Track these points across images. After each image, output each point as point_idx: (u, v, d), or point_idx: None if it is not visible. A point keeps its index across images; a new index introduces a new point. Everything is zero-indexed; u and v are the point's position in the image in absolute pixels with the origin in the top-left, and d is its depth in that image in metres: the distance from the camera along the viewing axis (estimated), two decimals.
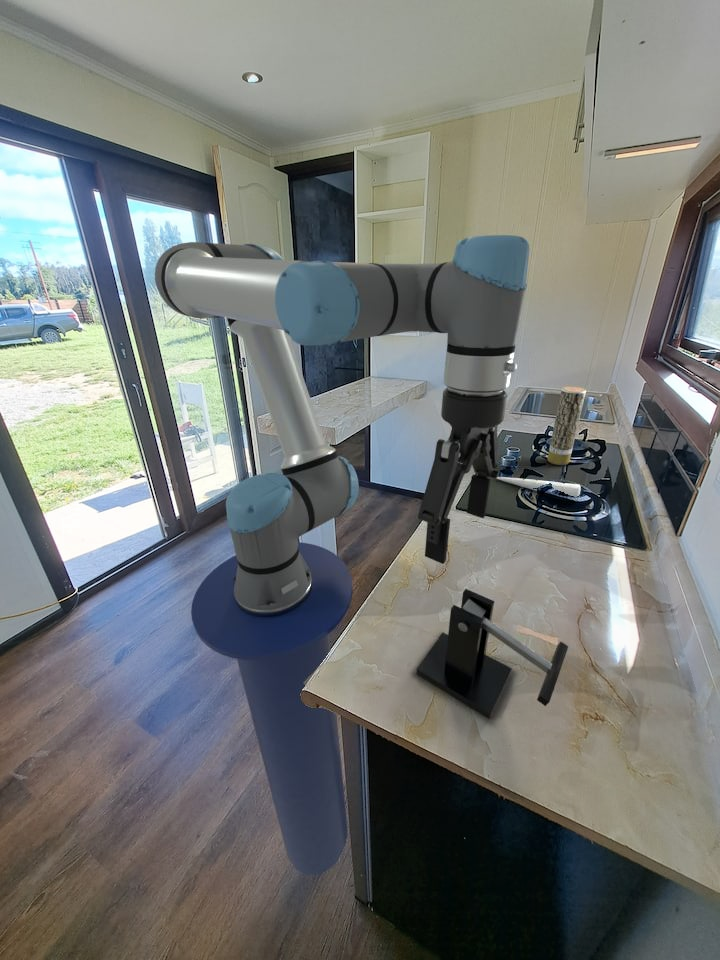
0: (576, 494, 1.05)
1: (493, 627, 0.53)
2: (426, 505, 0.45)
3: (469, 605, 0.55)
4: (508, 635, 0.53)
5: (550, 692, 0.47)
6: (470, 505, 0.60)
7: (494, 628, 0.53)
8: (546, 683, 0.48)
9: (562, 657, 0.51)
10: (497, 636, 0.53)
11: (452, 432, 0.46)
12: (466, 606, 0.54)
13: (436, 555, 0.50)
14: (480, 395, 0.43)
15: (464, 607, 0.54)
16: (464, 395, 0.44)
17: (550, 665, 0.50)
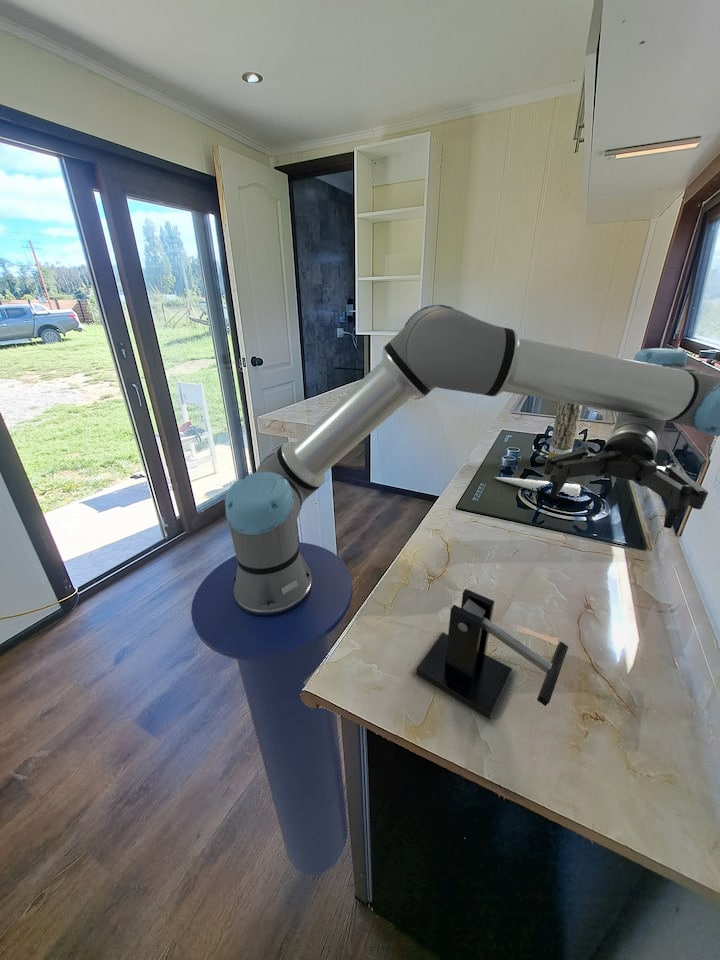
0: (576, 494, 1.05)
1: (493, 627, 0.53)
2: None
3: (469, 605, 0.55)
4: (508, 635, 0.53)
5: (550, 692, 0.47)
6: (560, 480, 0.56)
7: (494, 628, 0.53)
8: (546, 683, 0.48)
9: (562, 657, 0.51)
10: (497, 636, 0.53)
11: None
12: (466, 606, 0.54)
13: None
14: None
15: (464, 607, 0.54)
16: None
17: (550, 665, 0.50)
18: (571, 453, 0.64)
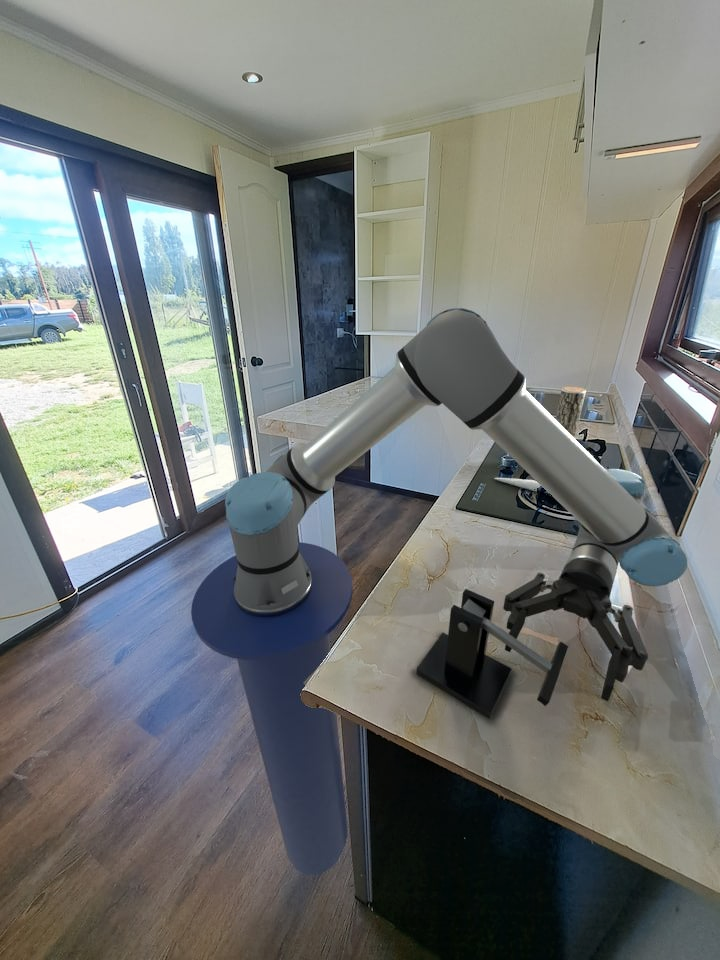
0: None
1: (493, 627, 0.53)
2: None
3: (469, 605, 0.55)
4: (508, 635, 0.53)
5: (550, 692, 0.47)
6: (515, 634, 0.54)
7: (494, 628, 0.53)
8: (546, 683, 0.48)
9: (562, 657, 0.51)
10: (497, 636, 0.53)
11: None
12: (466, 606, 0.54)
13: None
14: None
15: (464, 607, 0.54)
16: None
17: (550, 665, 0.50)
18: (529, 584, 0.63)
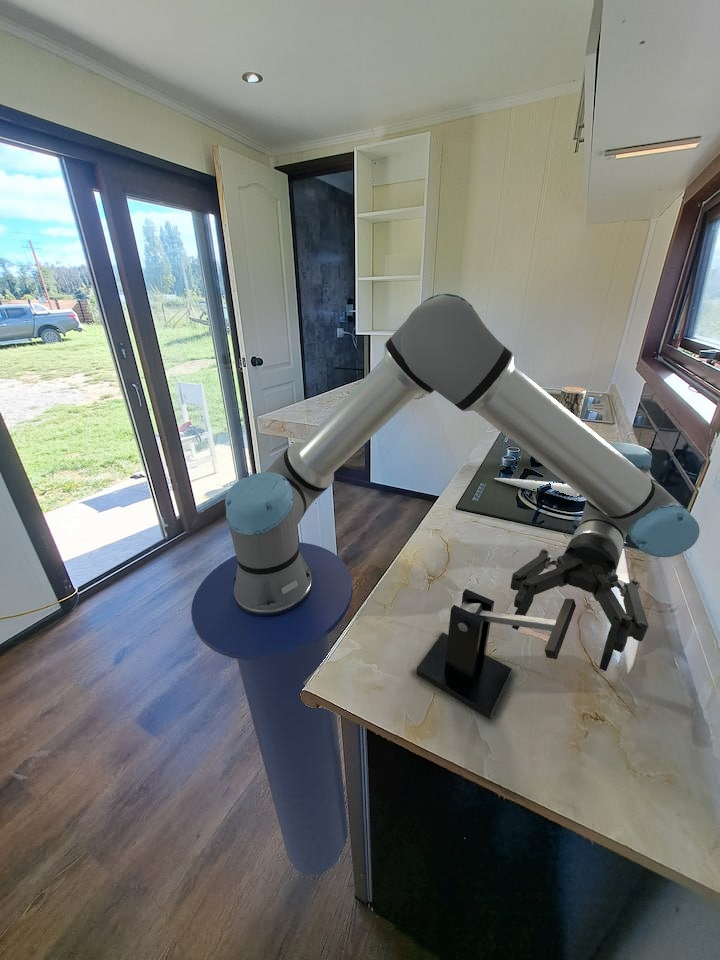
0: (576, 494, 1.05)
1: (491, 614, 0.53)
2: None
3: (464, 606, 0.55)
4: (507, 614, 0.51)
5: (555, 643, 0.44)
6: (523, 611, 0.52)
7: (493, 615, 0.52)
8: (550, 637, 0.45)
9: (567, 610, 0.48)
10: (499, 621, 0.52)
11: (615, 572, 0.58)
12: None
13: None
14: None
15: None
16: None
17: (554, 621, 0.47)
18: (534, 561, 0.61)
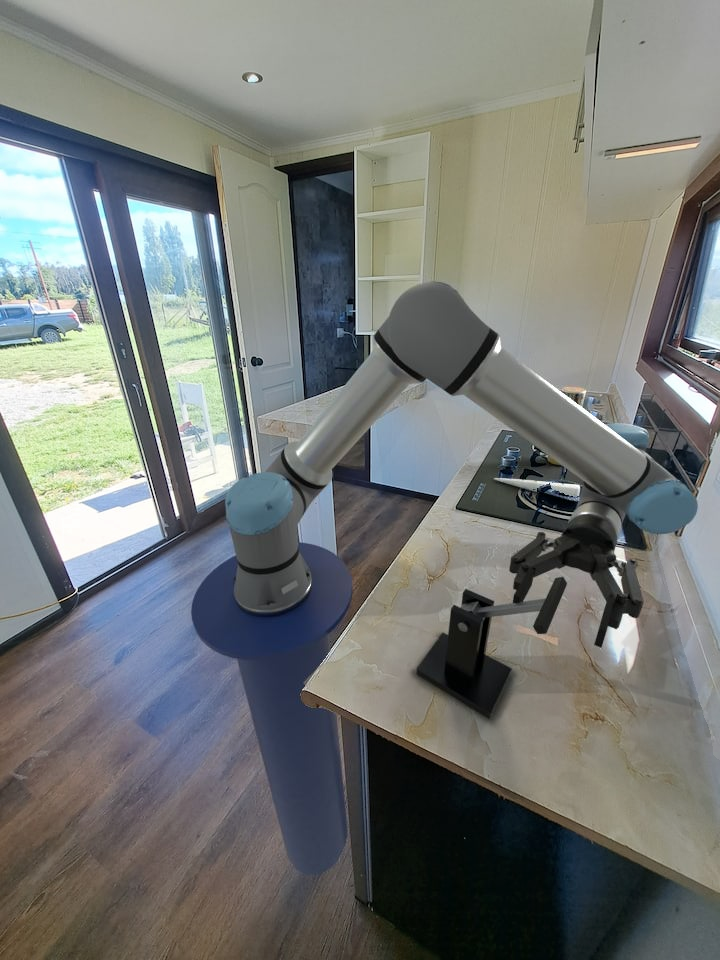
0: (576, 494, 1.05)
1: (488, 609, 0.53)
2: None
3: (462, 607, 0.56)
4: (502, 605, 0.51)
5: (542, 618, 0.44)
6: (523, 592, 0.51)
7: (489, 609, 0.52)
8: (539, 614, 0.45)
9: (556, 587, 0.48)
10: (495, 613, 0.52)
11: (613, 552, 0.58)
12: None
13: None
14: None
15: None
16: None
17: (543, 600, 0.47)
18: (532, 544, 0.60)
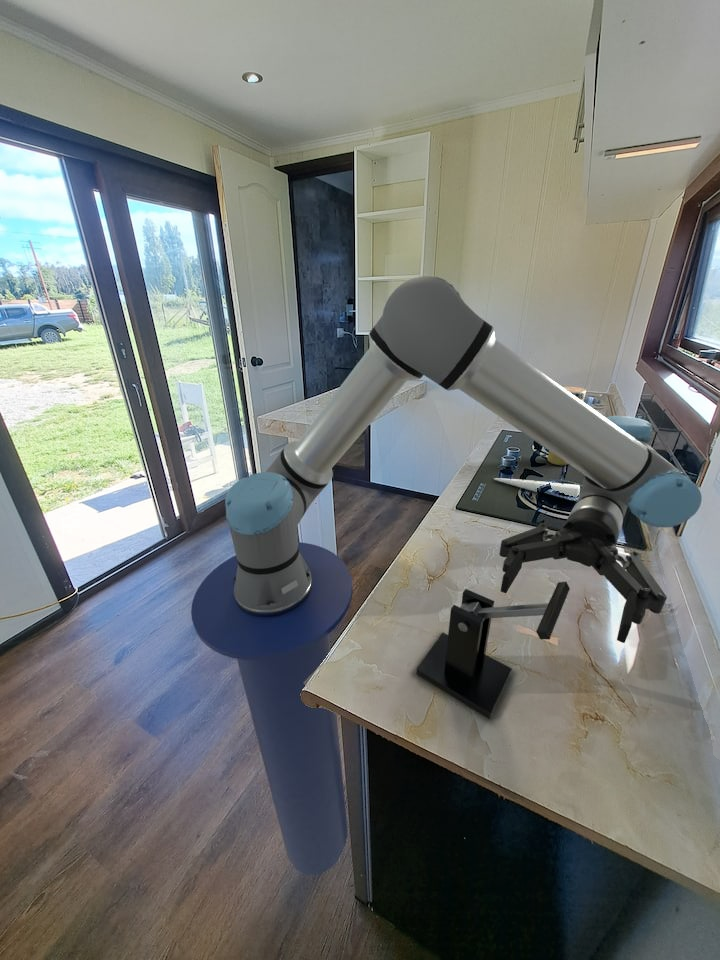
0: (576, 494, 1.04)
1: (489, 610, 0.53)
2: None
3: (463, 607, 0.56)
4: (504, 607, 0.51)
5: (546, 623, 0.44)
6: (512, 574, 0.51)
7: (490, 610, 0.52)
8: (542, 619, 0.45)
9: (559, 592, 0.48)
10: (496, 615, 0.52)
11: (615, 546, 0.56)
12: None
13: None
14: None
15: None
16: None
17: (546, 604, 0.47)
18: (529, 532, 0.59)
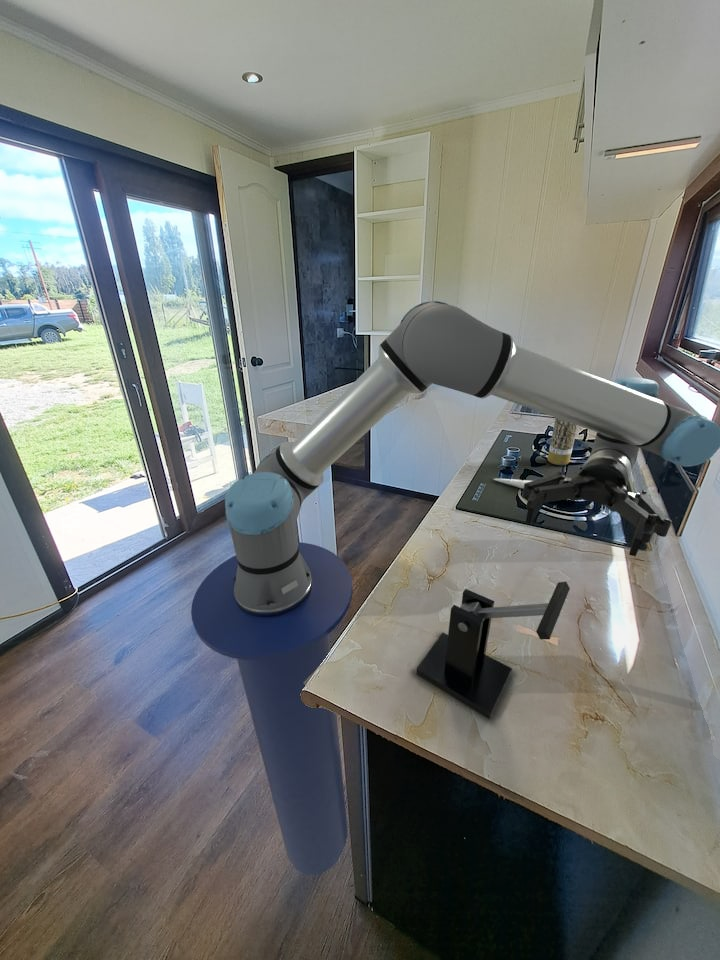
0: None
1: (489, 610, 0.53)
2: None
3: (463, 607, 0.56)
4: (504, 607, 0.51)
5: (546, 623, 0.44)
6: (536, 506, 0.59)
7: (490, 610, 0.52)
8: (542, 619, 0.45)
9: (559, 592, 0.48)
10: (496, 615, 0.52)
11: (625, 488, 0.64)
12: None
13: None
14: None
15: None
16: None
17: (546, 604, 0.47)
18: (548, 478, 0.67)
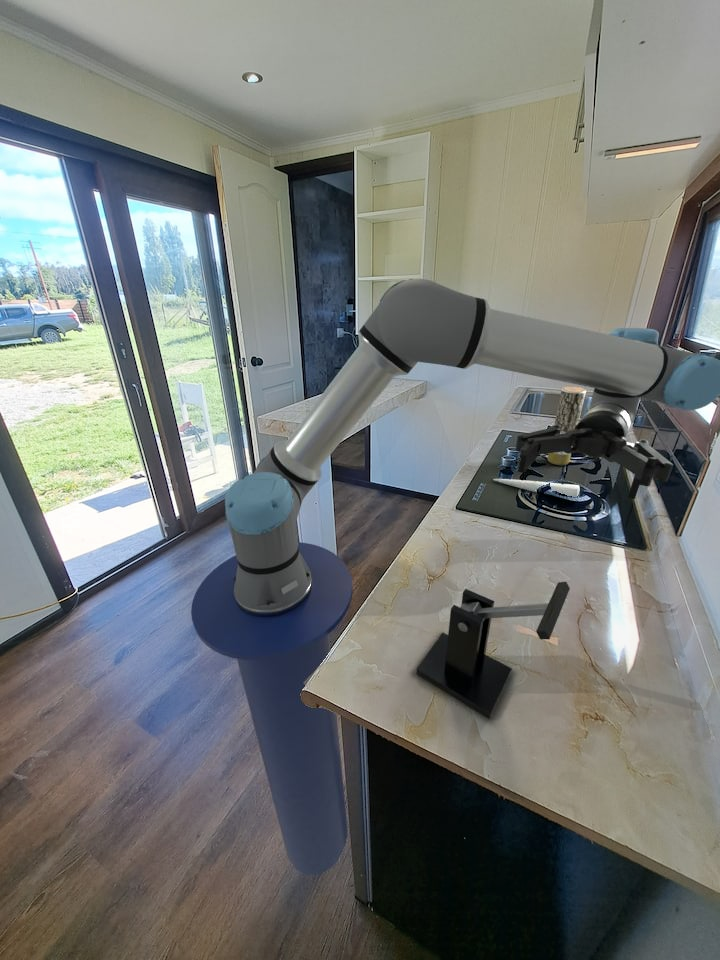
0: (576, 495, 1.04)
1: (489, 610, 0.53)
2: None
3: (463, 607, 0.56)
4: (504, 607, 0.51)
5: (546, 623, 0.44)
6: (529, 454, 0.56)
7: (490, 610, 0.52)
8: (542, 619, 0.45)
9: (559, 592, 0.48)
10: (496, 615, 0.52)
11: (624, 439, 0.61)
12: None
13: None
14: None
15: None
16: None
17: (546, 604, 0.47)
18: (543, 431, 0.64)
